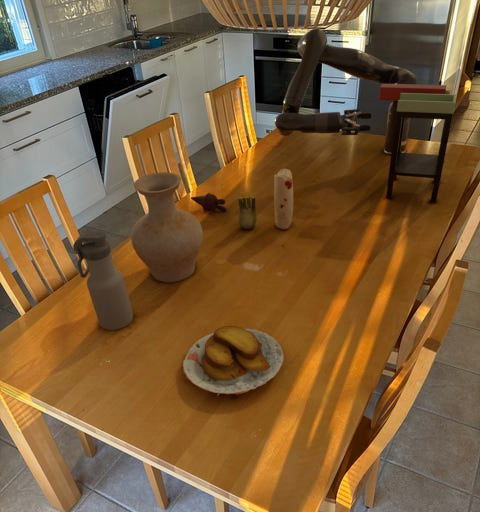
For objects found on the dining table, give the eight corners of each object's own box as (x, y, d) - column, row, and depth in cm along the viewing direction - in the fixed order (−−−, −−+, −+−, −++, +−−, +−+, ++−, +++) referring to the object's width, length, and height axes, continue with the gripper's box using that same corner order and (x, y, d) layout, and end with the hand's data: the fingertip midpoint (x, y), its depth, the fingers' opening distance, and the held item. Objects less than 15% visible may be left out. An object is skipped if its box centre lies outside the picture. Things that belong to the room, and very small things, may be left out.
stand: (391, 177, 206) (402, 94, 186) (438, 181, 201) (454, 96, 181) (385, 198, 193) (396, 111, 172) (435, 203, 187) (453, 113, 167)
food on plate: (173, 398, 121) (169, 379, 117) (195, 330, 140) (192, 312, 136) (280, 405, 117) (279, 385, 113) (288, 334, 136) (287, 315, 132)
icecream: (184, 197, 191) (220, 205, 186) (193, 184, 194) (229, 192, 190) (188, 210, 196) (222, 219, 192) (196, 198, 200) (231, 206, 195)
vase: (133, 260, 170) (113, 175, 151) (196, 245, 175) (184, 161, 156) (146, 296, 154) (125, 205, 135) (215, 279, 159) (204, 189, 140)
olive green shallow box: (399, 103, 179) (400, 92, 177) (454, 105, 173) (456, 94, 171) (396, 111, 172) (397, 100, 170) (453, 113, 167) (455, 102, 165)
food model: (293, 231, 178) (293, 177, 165) (274, 232, 179) (273, 178, 166) (293, 218, 186) (293, 165, 173) (274, 218, 186) (273, 166, 174)
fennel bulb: (258, 226, 183) (256, 195, 175) (252, 232, 179) (250, 201, 172) (243, 223, 185) (241, 193, 177) (237, 230, 181) (235, 199, 174)
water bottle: (92, 330, 143) (64, 244, 125) (104, 309, 150) (79, 224, 133) (127, 332, 141) (103, 244, 124) (137, 310, 149) (116, 225, 131)
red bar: (380, 96, 186) (381, 83, 183) (449, 98, 179) (451, 85, 176) (378, 100, 183) (380, 87, 180) (448, 102, 176) (451, 89, 173)
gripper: (325, 123, 188) (370, 122, 184) (328, 104, 197) (372, 102, 193) (325, 142, 194) (369, 140, 190) (329, 122, 203) (371, 120, 199)
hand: (370, 121), depth 192 cm, fingers open, 8 cm apart
